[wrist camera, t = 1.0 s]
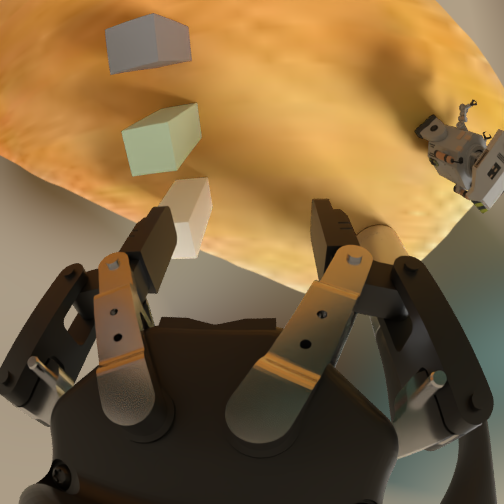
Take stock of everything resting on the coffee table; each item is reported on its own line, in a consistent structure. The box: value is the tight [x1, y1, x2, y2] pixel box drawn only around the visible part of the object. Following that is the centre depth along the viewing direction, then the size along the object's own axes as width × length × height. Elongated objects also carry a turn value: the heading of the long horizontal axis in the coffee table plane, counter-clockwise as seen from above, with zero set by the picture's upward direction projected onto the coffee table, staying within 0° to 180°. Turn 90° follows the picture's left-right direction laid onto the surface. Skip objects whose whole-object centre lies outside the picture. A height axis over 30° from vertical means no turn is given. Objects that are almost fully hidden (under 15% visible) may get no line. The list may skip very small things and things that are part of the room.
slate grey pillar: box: [105, 13, 192, 75], centre depth 22 cm, size 5×5×12 cm
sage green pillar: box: [121, 103, 202, 176], centre depth 29 cm, size 5×5×12 cm
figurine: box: [415, 100, 504, 213], centre depth 25 cm, size 9×12×15 cm
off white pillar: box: [158, 177, 213, 259], centre depth 36 cm, size 5×5×12 cm
